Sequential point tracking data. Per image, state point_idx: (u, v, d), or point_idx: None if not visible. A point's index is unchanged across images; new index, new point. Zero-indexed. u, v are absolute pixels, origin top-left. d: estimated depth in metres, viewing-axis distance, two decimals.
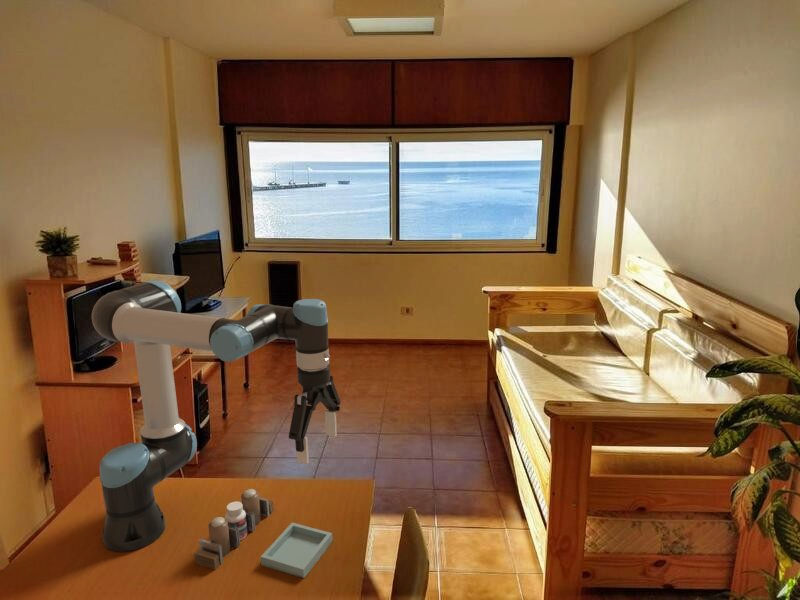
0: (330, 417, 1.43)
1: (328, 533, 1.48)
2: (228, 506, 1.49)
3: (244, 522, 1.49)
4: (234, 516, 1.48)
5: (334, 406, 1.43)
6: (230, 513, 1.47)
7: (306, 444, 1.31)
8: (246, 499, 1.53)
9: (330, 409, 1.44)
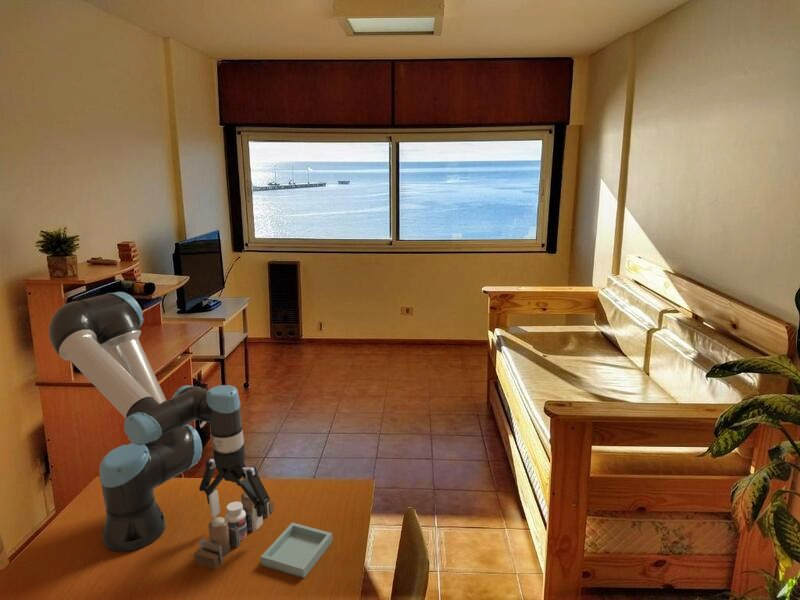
0: None
1: (328, 533, 1.48)
2: (228, 506, 1.49)
3: (244, 522, 1.49)
4: (234, 516, 1.48)
5: (253, 501, 1.44)
6: (230, 513, 1.47)
7: (210, 501, 1.50)
8: (246, 499, 1.53)
9: None
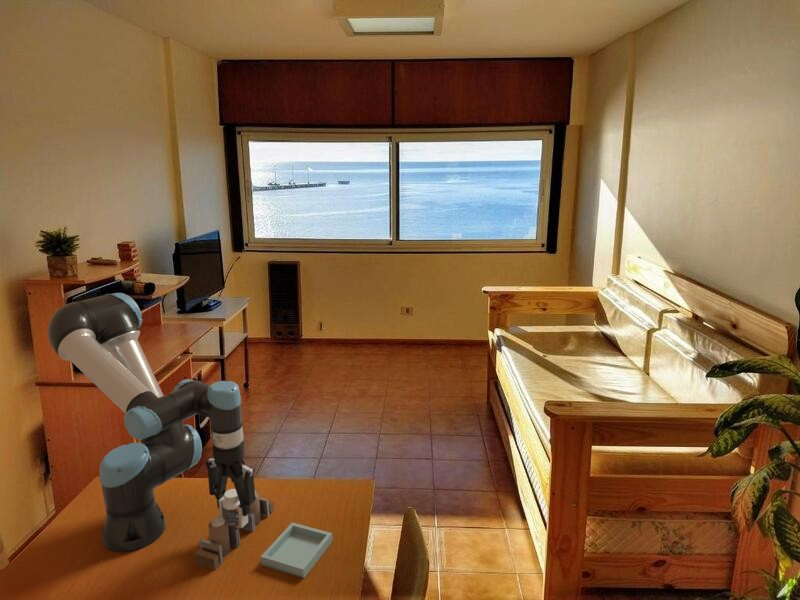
0: None
1: (328, 533, 1.48)
2: (226, 493, 1.48)
3: None
4: (232, 503, 1.47)
5: (240, 500, 1.46)
6: (228, 500, 1.47)
7: (220, 506, 1.49)
8: None
9: None
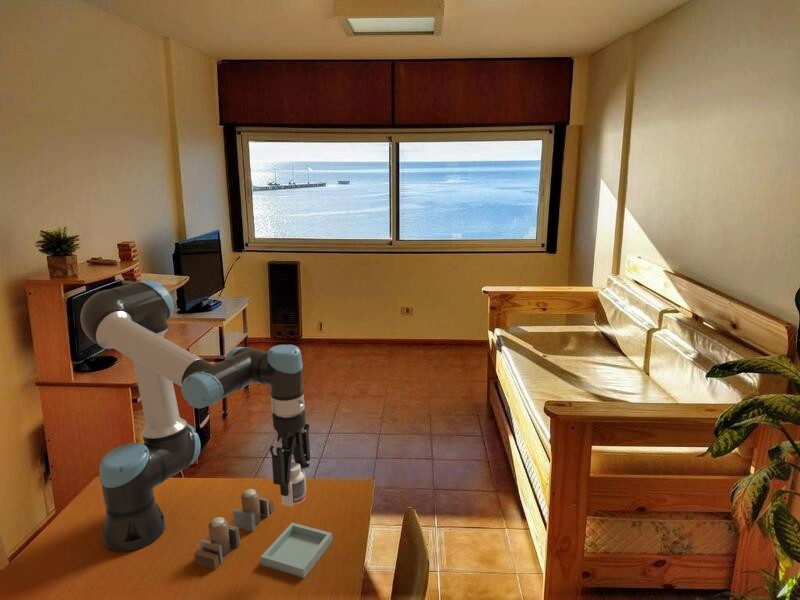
0: None
1: (328, 533, 1.48)
2: (291, 470, 1.36)
3: None
4: (300, 472, 1.39)
5: (304, 461, 1.41)
6: (299, 471, 1.38)
7: (291, 488, 1.36)
8: (246, 499, 1.53)
9: None
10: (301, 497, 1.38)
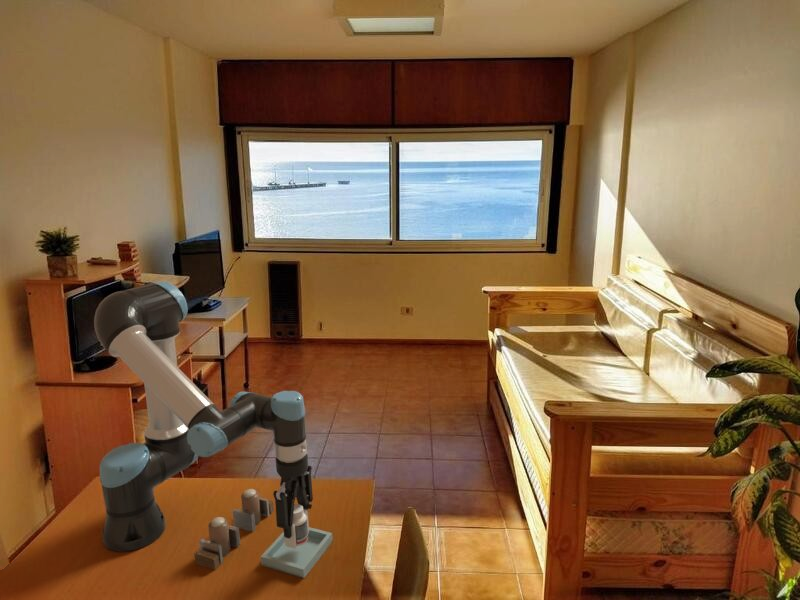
0: None
1: (328, 533, 1.48)
2: (294, 512, 1.40)
3: None
4: (302, 513, 1.42)
5: (307, 502, 1.44)
6: (302, 513, 1.41)
7: (294, 530, 1.39)
8: (246, 499, 1.53)
9: None
10: (304, 538, 1.41)
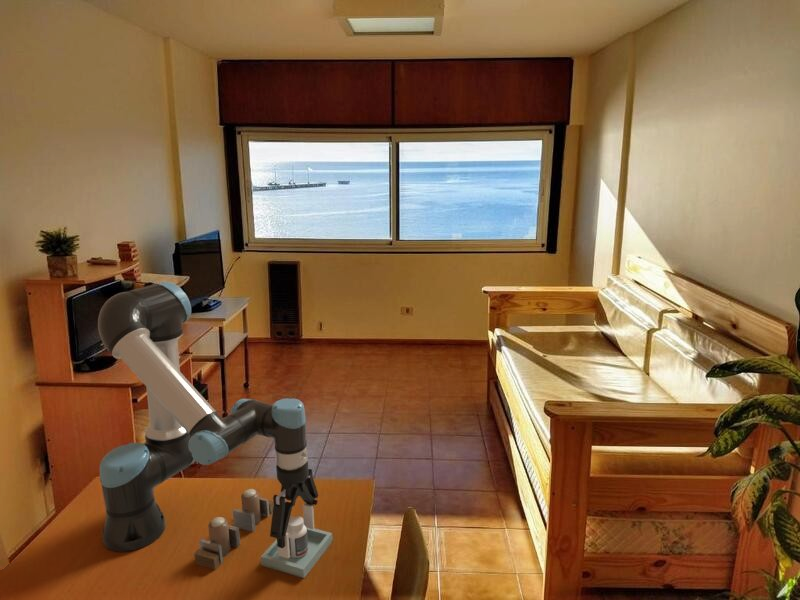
0: (308, 511, 1.47)
1: (328, 533, 1.48)
2: (294, 524, 1.40)
3: None
4: (302, 526, 1.43)
5: (312, 500, 1.46)
6: (302, 525, 1.42)
7: (287, 540, 1.37)
8: (246, 499, 1.53)
9: (308, 502, 1.47)
10: (304, 550, 1.42)
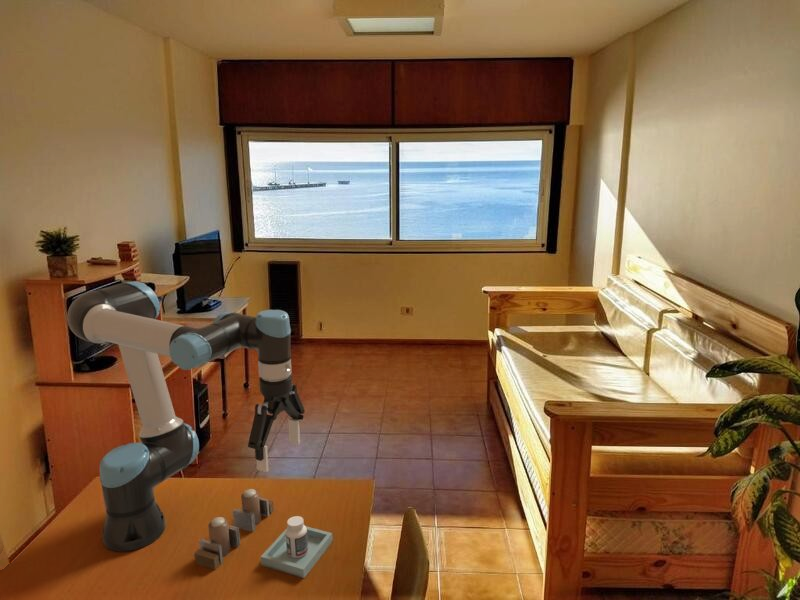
0: (293, 425, 1.45)
1: (328, 533, 1.48)
2: (295, 524, 1.40)
3: None
4: (303, 526, 1.43)
5: (297, 415, 1.44)
6: (302, 525, 1.42)
7: (266, 453, 1.33)
8: (246, 499, 1.53)
9: (294, 417, 1.45)
10: (304, 550, 1.42)
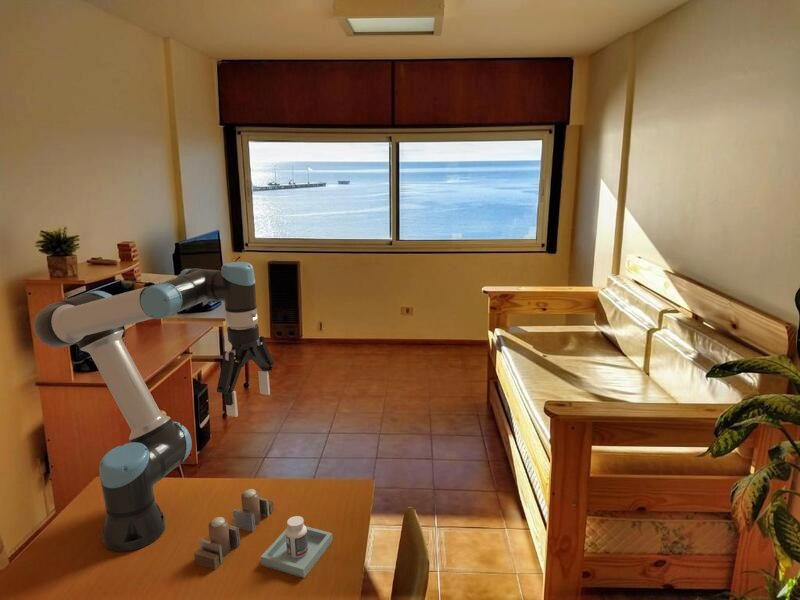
0: (263, 376, 1.52)
1: (328, 533, 1.48)
2: (295, 524, 1.40)
3: None
4: (303, 526, 1.43)
5: (266, 366, 1.51)
6: (302, 525, 1.42)
7: (235, 398, 1.40)
8: (246, 499, 1.53)
9: (263, 369, 1.52)
10: (304, 550, 1.42)
